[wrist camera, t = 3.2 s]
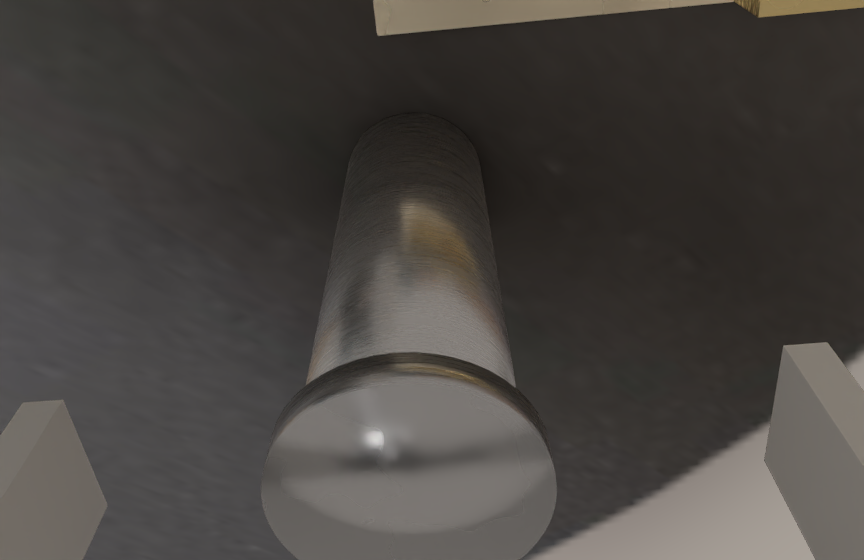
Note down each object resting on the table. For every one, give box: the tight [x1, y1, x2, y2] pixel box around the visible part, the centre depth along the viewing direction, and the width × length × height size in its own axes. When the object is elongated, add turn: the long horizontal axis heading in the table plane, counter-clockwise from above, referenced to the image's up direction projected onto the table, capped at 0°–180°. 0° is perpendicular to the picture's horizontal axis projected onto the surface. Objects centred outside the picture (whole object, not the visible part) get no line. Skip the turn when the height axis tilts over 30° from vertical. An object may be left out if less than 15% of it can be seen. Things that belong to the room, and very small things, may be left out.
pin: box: [261, 113, 557, 560], centre depth 18 cm, size 5×5×13 cm
